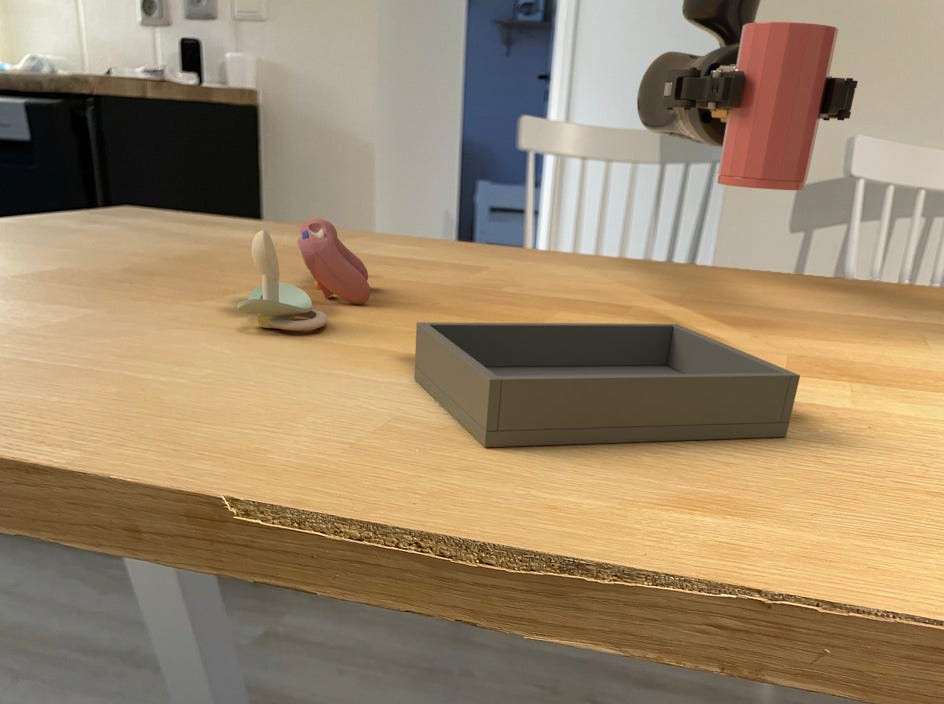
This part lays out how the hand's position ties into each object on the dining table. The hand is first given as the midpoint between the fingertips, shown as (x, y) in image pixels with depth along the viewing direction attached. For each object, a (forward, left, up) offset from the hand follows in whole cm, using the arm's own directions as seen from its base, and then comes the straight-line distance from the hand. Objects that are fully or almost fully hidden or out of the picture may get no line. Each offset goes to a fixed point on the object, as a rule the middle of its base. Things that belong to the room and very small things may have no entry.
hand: (787, 92), depth 65 cm
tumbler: (-1, -2, -6) cm, 6 cm away
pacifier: (+34, -5, -17) cm, 39 cm away
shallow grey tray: (+20, +17, -17) cm, 31 cm away
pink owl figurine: (+28, -18, -17) cm, 38 cm away
